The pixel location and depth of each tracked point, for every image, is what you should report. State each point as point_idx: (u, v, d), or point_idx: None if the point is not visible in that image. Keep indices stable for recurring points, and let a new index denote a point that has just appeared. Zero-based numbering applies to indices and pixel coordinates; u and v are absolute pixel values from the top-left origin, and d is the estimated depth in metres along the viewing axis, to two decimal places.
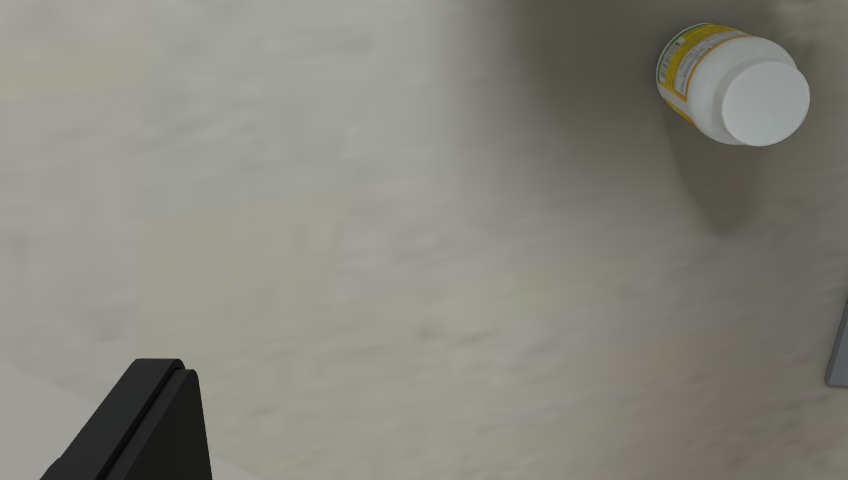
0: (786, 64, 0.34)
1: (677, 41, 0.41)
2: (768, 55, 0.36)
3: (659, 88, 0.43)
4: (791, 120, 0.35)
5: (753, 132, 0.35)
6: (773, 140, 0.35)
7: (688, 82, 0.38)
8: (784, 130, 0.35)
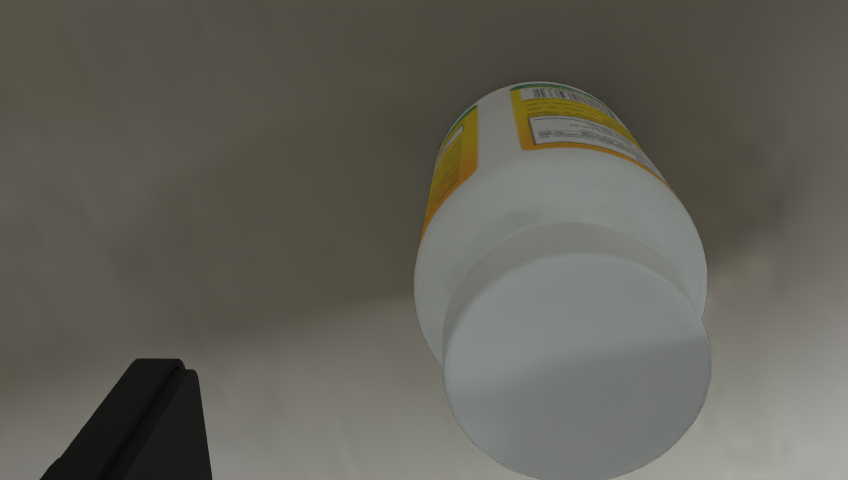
0: (699, 409, 0.11)
1: (613, 115, 0.18)
2: None
3: (495, 94, 0.18)
4: (529, 449, 0.12)
5: (488, 357, 0.11)
6: (465, 414, 0.12)
7: (579, 144, 0.13)
8: (497, 436, 0.12)
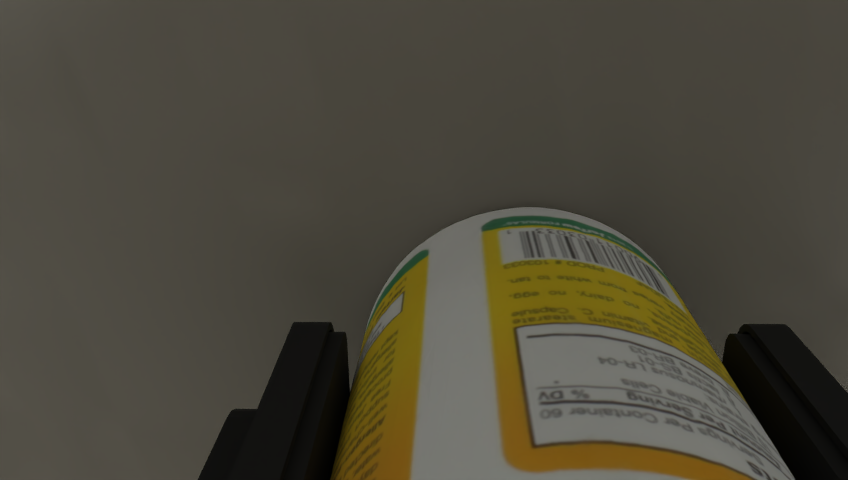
0: None
1: (655, 274, 0.11)
2: None
3: (458, 232, 0.11)
4: None
5: None
6: None
7: (630, 450, 0.06)
8: None
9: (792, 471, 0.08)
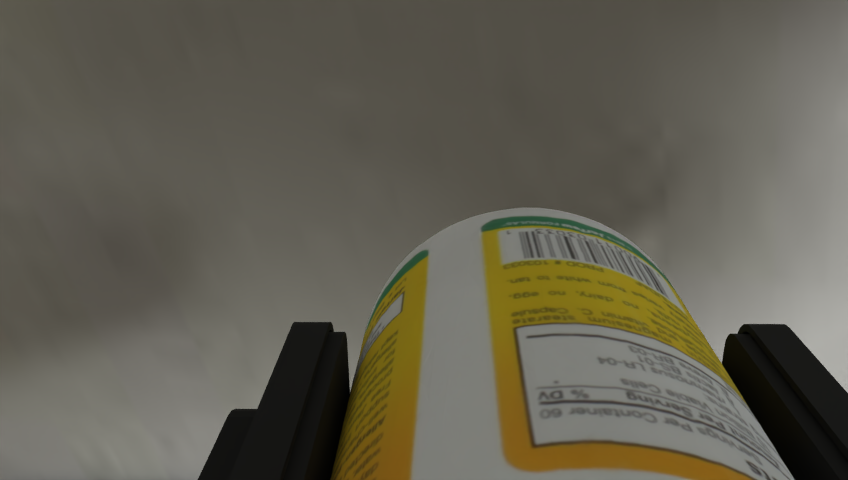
0: None
1: (654, 274, 0.11)
2: None
3: (458, 232, 0.11)
4: None
5: None
6: None
7: (631, 450, 0.06)
8: None
9: (792, 471, 0.08)
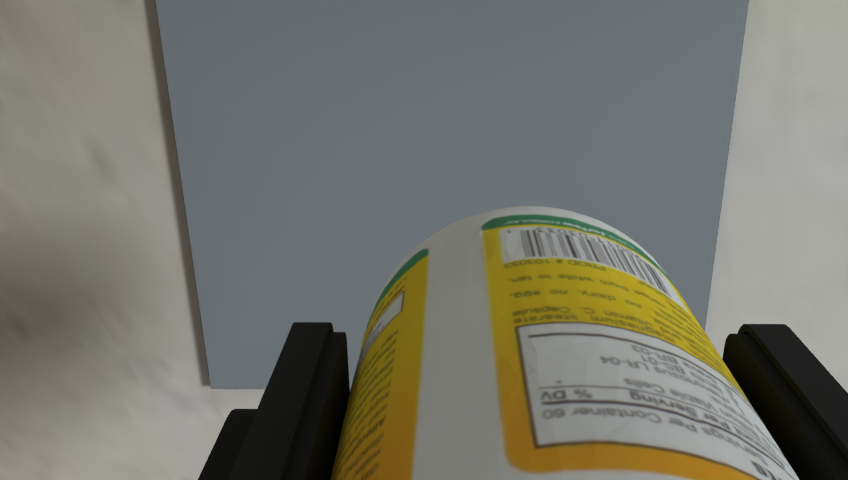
0: None
1: (656, 273, 0.10)
2: None
3: (458, 231, 0.11)
4: None
5: None
6: None
7: (635, 451, 0.06)
8: None
9: None
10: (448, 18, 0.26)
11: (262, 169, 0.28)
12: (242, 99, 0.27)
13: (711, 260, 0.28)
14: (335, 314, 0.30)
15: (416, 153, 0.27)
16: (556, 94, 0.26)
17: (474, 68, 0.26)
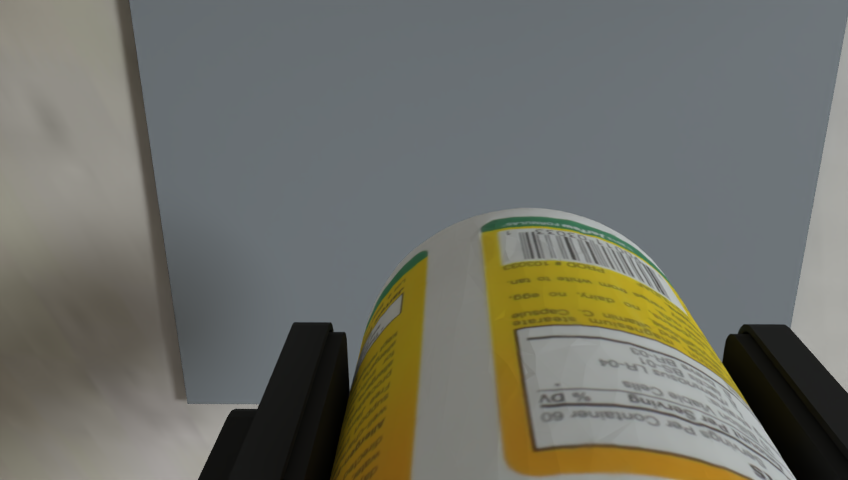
0: None
1: (655, 275, 0.10)
2: None
3: (457, 233, 0.11)
4: None
5: None
6: None
7: (633, 454, 0.06)
8: None
9: (791, 471, 0.08)
10: None
11: (251, 132, 0.22)
12: (226, 43, 0.22)
13: (802, 248, 0.23)
14: (340, 313, 0.25)
15: (443, 113, 0.22)
16: (619, 38, 0.21)
17: (517, 3, 0.21)
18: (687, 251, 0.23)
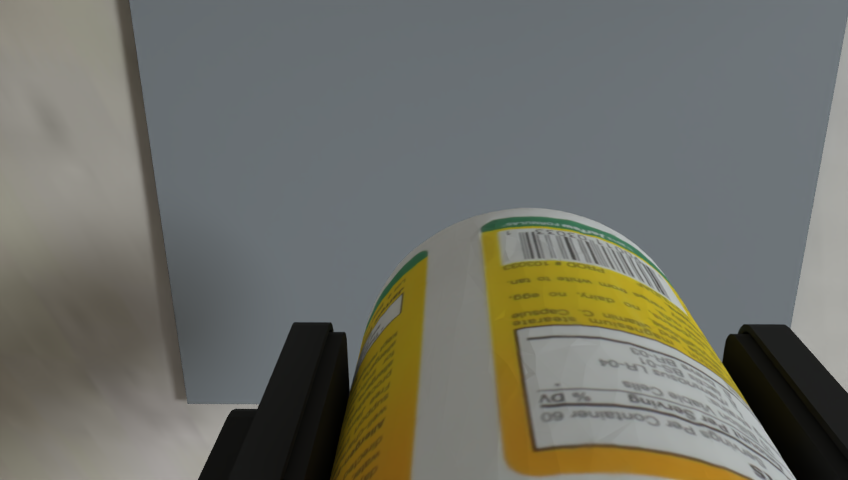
0: None
1: (655, 275, 0.10)
2: None
3: (457, 233, 0.11)
4: None
5: None
6: None
7: (633, 454, 0.06)
8: None
9: (791, 471, 0.08)
10: None
11: (251, 132, 0.22)
12: (226, 43, 0.22)
13: (802, 248, 0.23)
14: (340, 313, 0.25)
15: (443, 113, 0.22)
16: (619, 38, 0.21)
17: (517, 3, 0.21)
18: (687, 251, 0.23)
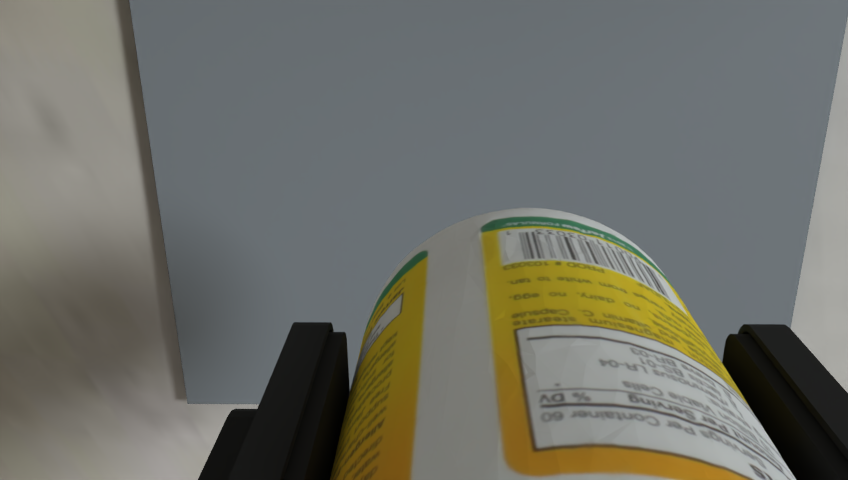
0: None
1: (655, 275, 0.10)
2: None
3: (457, 233, 0.11)
4: None
5: None
6: None
7: (633, 454, 0.06)
8: None
9: (791, 471, 0.08)
10: None
11: (251, 132, 0.22)
12: (226, 43, 0.22)
13: (802, 248, 0.23)
14: (340, 313, 0.25)
15: (443, 113, 0.22)
16: (619, 38, 0.21)
17: (517, 3, 0.21)
18: (687, 251, 0.23)
